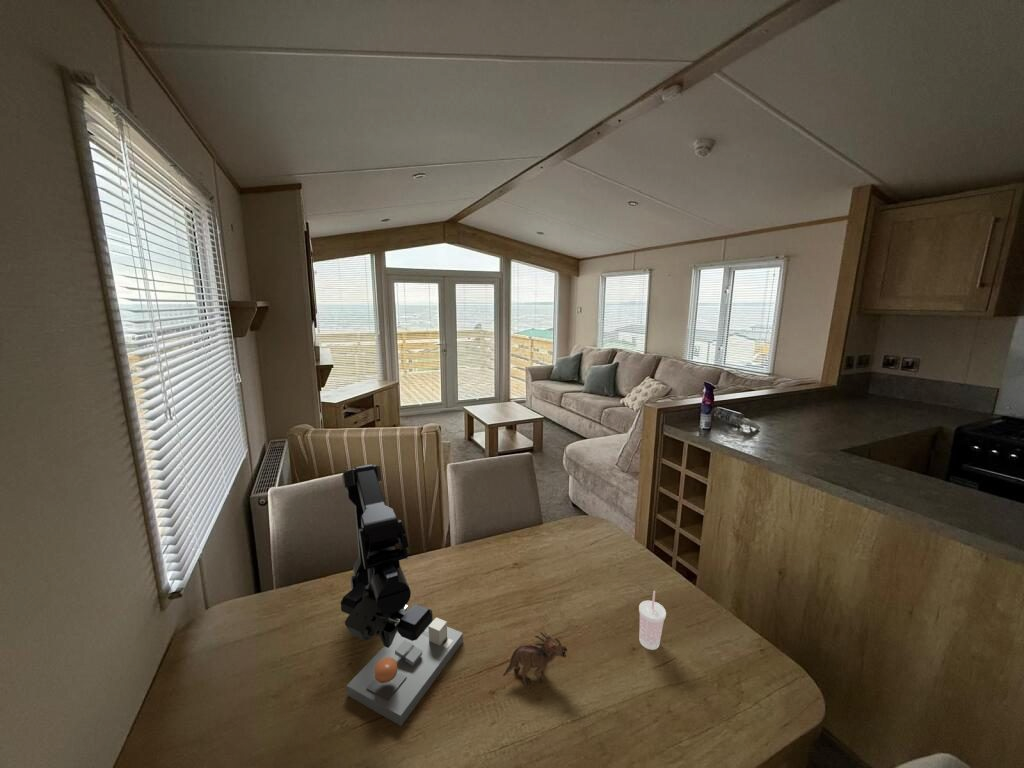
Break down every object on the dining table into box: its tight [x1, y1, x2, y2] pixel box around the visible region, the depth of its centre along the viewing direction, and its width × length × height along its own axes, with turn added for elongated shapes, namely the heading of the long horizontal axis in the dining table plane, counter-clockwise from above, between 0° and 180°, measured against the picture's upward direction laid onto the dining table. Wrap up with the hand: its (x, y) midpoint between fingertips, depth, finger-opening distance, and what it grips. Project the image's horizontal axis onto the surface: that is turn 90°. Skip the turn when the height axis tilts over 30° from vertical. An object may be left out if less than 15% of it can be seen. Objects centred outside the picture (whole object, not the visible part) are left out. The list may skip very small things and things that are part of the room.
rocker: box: [395, 640, 423, 666], centre depth 92 cm, size 5×3×1 cm, turn 65°
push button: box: [374, 657, 397, 683], centre depth 85 cm, size 4×4×3 cm
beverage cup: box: [638, 590, 667, 651], centre depth 99 cm, size 6×6×14 cm
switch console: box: [346, 620, 464, 727], centre depth 92 cm, size 14×22×3 cm, turn 154°
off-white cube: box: [429, 617, 448, 646], centre depth 97 cm, size 3×3×4 cm
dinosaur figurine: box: [502, 631, 568, 686], centre depth 91 cm, size 14×6×9 cm, turn 99°
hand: (388, 645), depth 84 cm, fingers closed
